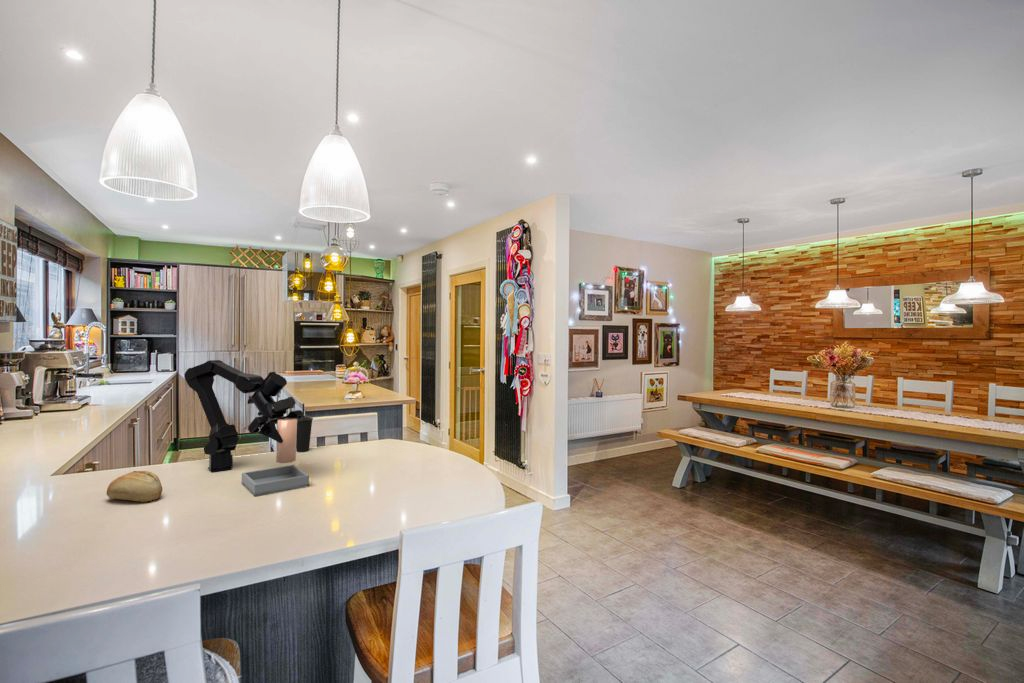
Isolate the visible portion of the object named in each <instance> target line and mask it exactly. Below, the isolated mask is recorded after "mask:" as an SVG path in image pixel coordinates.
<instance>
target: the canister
mask: <svg viewBox="0 0 1024 683" xmlns="http://www.w3.org/2000/svg"><path fill="white" fill-rule="evenodd" d="M276 426H277V427H276V429H277V431H278V433H279V434H280V436H281V438H282V440H283V442H282V443H279V442H277V441H276V456H275V462H276V463H279V464H287V463H294V462H295V461H296V460H297V451H296V440H297V419H296V418H282V419H278V424H276Z"/></svg>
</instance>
